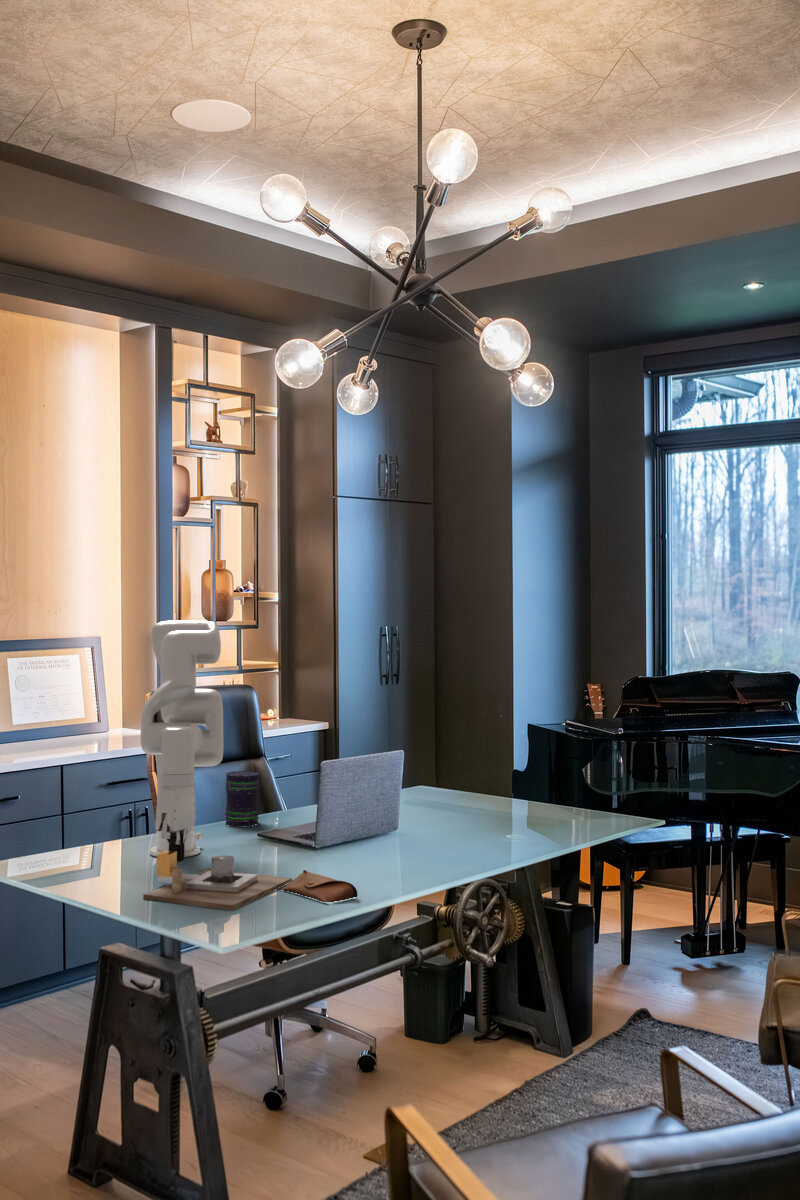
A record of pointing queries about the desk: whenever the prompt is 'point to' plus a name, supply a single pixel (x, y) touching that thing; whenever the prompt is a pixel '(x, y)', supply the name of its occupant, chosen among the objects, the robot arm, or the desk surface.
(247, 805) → the storage jar
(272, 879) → the base board
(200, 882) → the square frame with handle
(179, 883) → the dowel
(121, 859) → the desk surface
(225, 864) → the post
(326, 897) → the sunglasses case
